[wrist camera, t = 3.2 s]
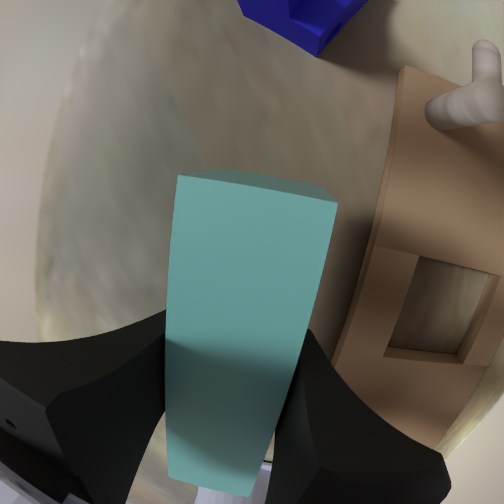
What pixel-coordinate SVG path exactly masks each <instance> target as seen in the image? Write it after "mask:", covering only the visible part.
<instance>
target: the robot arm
mask: <svg viewBox="0 0 504 504" xmlns="http://www.w3.org/2000/svg"><path fill="white" fill-rule="evenodd" d="M165 337H166V310H164V311H162V312H159V313H157V314H155V315H153V316H150V317H148V318H146V319H144V320H141V321H138V322H136V323H133V324H131V325H128V326H125V327H123V328H120V329H117V330H114V331H110V332H107V333H103V334H99V335H95V336H91V337H85V338H79V339H73V340H67V341H57V342H39V343H26V342H10V341H0V504H125V503H126V500H127V497H128V494H129V491H130V488H131V486H132V483H133V480H134V478H135V475H136V472H137V470H138V467H139V465H140V462H141V460H142V458H143V455H144V453H145V450H146V448H147V446H148V443H149V441H150V439H151V436H152V434H153V432H154V430H155V428H156V426H157V424H158V422H159V420H160V418H161V417H162V415H163V413H164V412H165ZM450 489H451V480H450V477H449V474H448V471H447V468H446V465H445V462H444V459H443V456H442V454H441V453H439V452H437V451H435V450H433V449H431V448H429V447H427V446H425V445H423V444H421V443H419V442H417V441H415V440H413V439H412V438H410V437H408V436H407V435H405V434H404V433H402V432H401V431H399V430H398V429H396V428H395V427H393V426H392V425H391V424H389V423H388V422H386V421H385V420H384V419H383V418H381V417H380V416H379V415H378V414H377V413H375V412H374V411H373V410H372V409H371V408H369V407H368V406H367V405H366V404H365V403H364V402H363V401H362V400H361V399H360V398H359V397H358V396H357V395H356V394H355V393H354V392H353V391H352V390H351V388H350V387H349V386H348V385H347V384H346V383H345V381H344V380H343V379H342V378H341V376H340V375H339V374H338V373H337V371H336V370H335V368H334V367H333V366H332V364H331V363H330V361H329V360H328V358H327V357H326V355H325V353H324V352H323V350H322V348H321V347H320V345H319V343H318V341H317V340H316V338H315V336H314V334H313V333H312V331H311V330H310V329H307V331H306V334H305V338H304V341H303V345H302V348H301V351H300V355H299V358H298V361H297V364H296V368H295V371H294V374H293V377H292V380H291V383H290V387H289V390H288V393H287V396H286V399H285V402H284V405H283V408H282V411H281V413H280V416H279V419H278V422H277V425H276V428H275V442H274V455H273V462H272V463H267V462H263V463H262V466H261V468H260V471H259V473H258V476H257V478H256V481H255V483H254V486H253V488H252V491H251V493H250V496H249V497H244V496H239V495H234V494H229V493H225V492H220V491H216V490H212V489H208V488H204V487H200V486H199V488H198V494H197V497H196V500H195V503H194V504H440V503H441V502H442V501H443V500H444V499H445V498H446V496H447V495H448V493H449V491H450Z"/></svg>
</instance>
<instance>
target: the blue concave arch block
mask: <svg viewBox="0 0 504 504" xmlns="http://www.w3.org/2000/svg"><path fill="white" fill-rule="evenodd" d="M237 1H238V3H239V5H240V8H241V10H242V12H243V15H244V16H246V17H247V18H249V19H251V20H253V21H255V22H257V23H259V24H261V25H263V26H265V27H267V28H268V29H270V30H272V31H274V32H275V33H277V34H279V35H281V36H282V37H284V38H286V39H288V40H289V41H291V42H293V43H294V44H296V45H297V46H299V47H301V48H302V49H304V50H305V51H307V52H309V53H310V54H312V55H313V56H315V57H317V56H318V55H319V54H320V53H321V51H322V50H323V49H324V48H325V47H326V46H327V44H328V43H329V42H330V41H331V40H332V39H333V38H334V36H335V35H336V34H337V33H338V32H339V31H340V30H341V29H342V27H343V26H344V25H345V24H346V23H347V22H348V21H349V20H350V19H351V18H352V16H353V15H354V14H355V13H356V12H357V11H358V10H359V9H360V8H361V7H362V6H363V5H364V4H365V2H366V1H367V0H237Z"/></svg>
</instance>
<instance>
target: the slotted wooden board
mask: <svg viewBox="0 0 504 504" xmlns="http://www.w3.org/2000/svg"><path fill="white" fill-rule="evenodd" d="M419 256H423V257H427V258H431V259H435V260H440V261H444V262H448V263H452V264H456V265H460V266H464V267H468V268H472V269H476V270H480V271H484V272H488V273H490V274H489V277H488V280H487V283H486V286H485V289H484V291H483V294H482V297H481V299H480V302H479V304H478V307H477V309H476V312H475V314H474V316H473V319H472V321H471V323H470V326H469V328H468V330H467V332H466V335H465V337H464V339H463V341H462V343H461V345H460V347H459V349H458V351H457V353H456V354H447V353H437V352H427V351H418V350H410V349H401V348H393V347H387V345H388V343H389V340H390V338H391V335H392V333H393V330H394V328H395V325H396V323H397V320H398V318H399V315H400V312H401V310H402V307H403V304H404V301H405V298H406V296H407V293H408V290H409V287H410V284H411V281H412V278H413V275H414V272H415V268H416V265H417V262H418V258H419ZM503 337H504V86H503V85H502V77H501V56H500V52H499V50H498V49H497V47H496V46H495V45H494V44H493V43H491V42H489V41H487V40H479V41H477V42H476V43H475V44H474V45H473V48H472V83H470V84H467V85H465V86H462V87H461V86H459V85H457V84H454V83H452V82H450V81H447V80H445V79H443V78H440V77H438V76H435V75H433V74H430V73H427V72H425V71H422V70H419V69H417V68H414V67H411V66H408V65H404V66H403V67H402V68H401V69H400V70H399V71H398V78H397V88H396V97H395V105H394V113H393V120H392V127H391V134H390V140H389V146H388V152H387V158H386V163H385V169H384V174H383V179H382V184H381V189H380V194H379V198H378V203H377V208H376V212H375V216H374V221H373V225H372V229H371V233H370V237H369V241H368V245H367V249H366V253H365V256H364V260H363V264H362V267H361V271H360V274H359V278H358V281H357V285H356V288H355V292H354V295H353V298H352V301H351V305H350V308H349V311H348V314H347V317H346V320H345V323H344V326H343V329H342V332H341V335H340V338H339V341H338V344H337V347H336V349H335V352H334V355H333V358H332V360H331V364H332V366H333V367H334V368H335V370H336V371H337V373H338V374H339V375H340V376H341V378H342V379H343V380H344V381H345V383H346V384H347V385H348V386H349V387H350V388H351V390H352V391H353V392H354V393H355V394H356V395H357V396H358V397H359V398H360V399H361V400H362V401H363V402H364V403H365V404H366V405H367V406H368V407H369V408H371V409H372V410H373V411H374V412H375V413H377V414H378V415H379V416H380V417H381V418H383V419H384V420H385V421H386V422H388V423H389V424H391V425H392V426H393V427H395V428H396V429H398V430H399V431H401V432H402V433H404V434H405V435H407V436H408V437H410V438H412V439H413V440H415V441H417V442H419V443H421V444H423V445H425V446H427V447H429V448H431V449H433V448H434V447H435V445H436V444H437V443H438V442H439V440H440V439H441V438H442V436H443V435H444V434H445V433H446V431H447V430H448V428H449V427H450V426H451V424H452V423H453V422H454V420H455V419H456V417H457V416H458V414H459V413H460V412H461V410H462V409H463V407H464V406H465V404H466V403H467V401H468V399H469V398H470V396H471V395H472V393H473V392H474V390H475V388H476V387H477V385H478V383H479V382H480V380H481V378H482V376H483V375H484V373H485V371H486V369H487V368H488V366H489V364H490V362H491V360H492V358H493V357H494V355H495V353H496V351H497V349H498V347H499V345H500V343H501V341H502V339H503Z"/></svg>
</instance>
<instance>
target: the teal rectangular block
mask: <svg viewBox="0 0 504 504" xmlns="http://www.w3.org/2000/svg"><path fill="white" fill-rule="evenodd" d="M337 206H338V203H337V202H336V201H335V200H334V199H333V198H332V197H331V196H330V195H329V194H328V193H327V192H326V191H325V190H324V189H323V188H322V187H321V186H317V185H313V184H308V183H303V182H298V181H292V180H287V179H282V178H277V177H271V176H265V175H260V174H254V173H248V172H242V171H235V170H229V169H224V170H215V171H206V172H197V173H189V174H181V175H178V180H177V188H176V196H175V205H174V214H173V224H172V235H171V246H170V259H169V273H168V289H167V309H166V337H165V415H166V441H167V460H168V474H169V477H170V478H173V479H176V480H179V481H182V482H186V483H189V484H193V485H196V486H200V487H204V488H208V489H212V490H216V491H220V492H225V493H229V494H234V495H239V496H244V497H249V496H250V493H251V491H252V488H253V486H254V483H255V481H256V478H257V476H258V473H259V471H260V468H261V466H262V463H263V460H264V458H265V455H266V452H267V450H268V447H269V444H270V442H271V439H272V436H273V433H274V431H275V428H276V425H277V422H278V419H279V416H280V413H281V411H282V408H283V405H284V402H285V399H286V396H287V393H288V390H289V387H290V383H291V380H292V377H293V374H294V371H295V368H296V364H297V361H298V358H299V355H300V351H301V348H302V345H303V341H304V338H305V334H306V331H307V327H308V324H309V320H310V317H311V313H312V309H313V306H314V302H315V298H316V295H317V291H318V287H319V283H320V279H321V275H322V271H323V267H324V263H325V259H326V255H327V251H328V246H329V242H330V238H331V233H332V229H333V225H334V220H335V215H336V211H337Z"/></svg>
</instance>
